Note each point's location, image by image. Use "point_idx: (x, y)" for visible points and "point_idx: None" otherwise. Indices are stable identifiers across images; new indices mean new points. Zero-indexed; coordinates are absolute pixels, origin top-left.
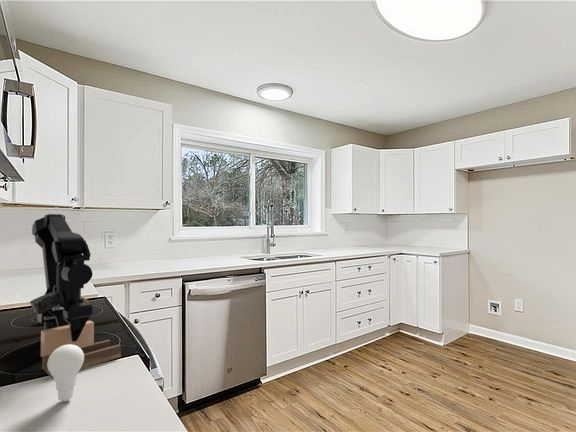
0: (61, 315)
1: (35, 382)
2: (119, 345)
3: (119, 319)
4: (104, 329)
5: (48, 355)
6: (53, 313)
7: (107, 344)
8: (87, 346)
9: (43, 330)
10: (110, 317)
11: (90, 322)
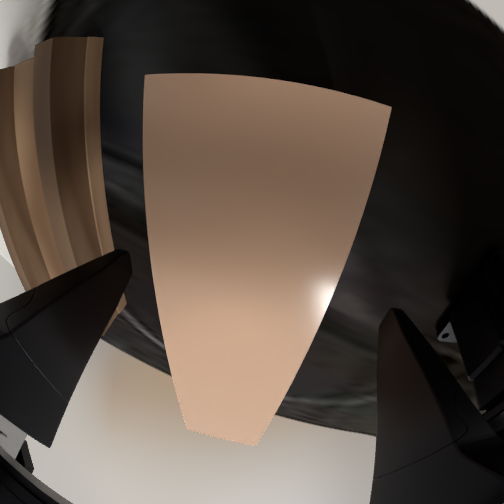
0: (424, 470)
1: (24, 22)
2: None
3: None
4: None
5: (45, 67)
6: (489, 481)
7: None
8: (58, 251)
9: (352, 132)
10: None
11: (200, 429)
